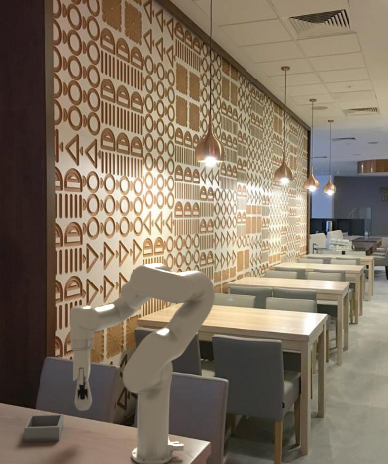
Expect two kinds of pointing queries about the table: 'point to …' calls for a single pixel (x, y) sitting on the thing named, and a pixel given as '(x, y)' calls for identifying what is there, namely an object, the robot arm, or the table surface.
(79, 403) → the salt shaker
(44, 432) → the tray
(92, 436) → the table surface
